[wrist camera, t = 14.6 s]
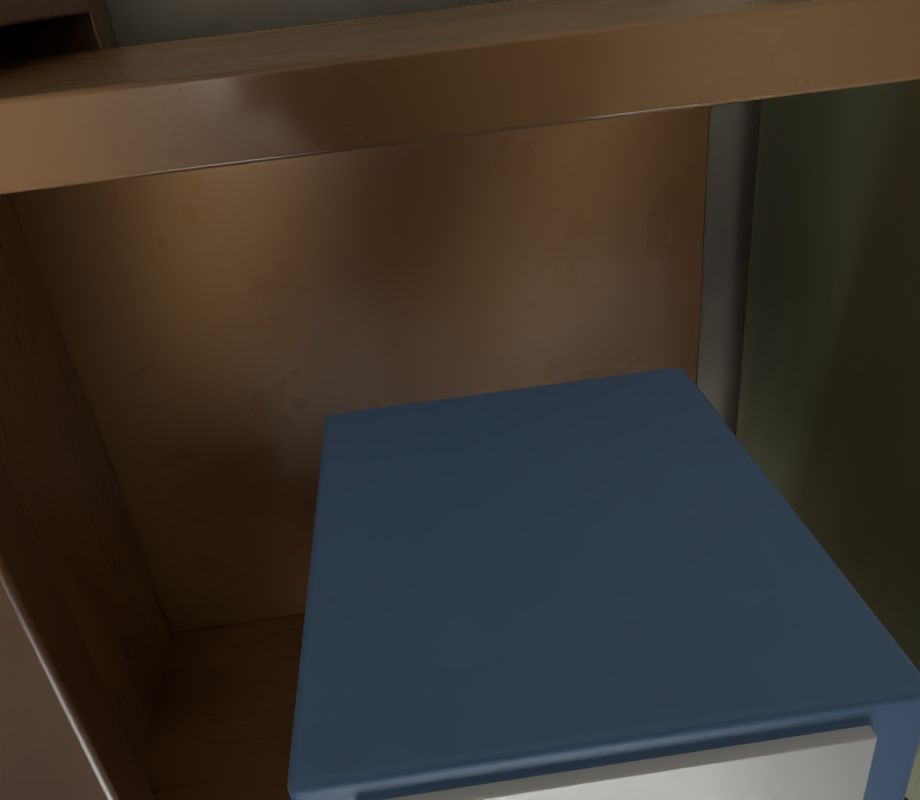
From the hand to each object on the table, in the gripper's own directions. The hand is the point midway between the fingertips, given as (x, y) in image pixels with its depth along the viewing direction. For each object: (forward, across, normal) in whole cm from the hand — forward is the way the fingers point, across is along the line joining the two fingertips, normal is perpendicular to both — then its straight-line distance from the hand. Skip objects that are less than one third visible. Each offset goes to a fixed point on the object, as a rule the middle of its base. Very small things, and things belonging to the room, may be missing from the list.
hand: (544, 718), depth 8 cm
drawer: (+9, -2, -1) cm, 9 cm away
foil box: (+1, 0, 0) cm, 1 cm away
